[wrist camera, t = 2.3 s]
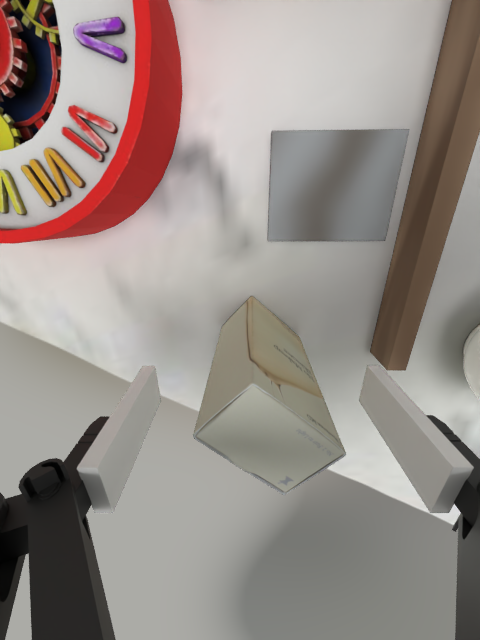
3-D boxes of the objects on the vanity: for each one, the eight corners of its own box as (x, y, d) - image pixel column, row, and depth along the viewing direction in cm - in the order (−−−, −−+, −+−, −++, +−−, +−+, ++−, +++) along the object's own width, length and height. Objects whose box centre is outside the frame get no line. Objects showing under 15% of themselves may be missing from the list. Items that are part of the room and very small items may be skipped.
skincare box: (300, 336, 22) (355, 455, 11) (266, 366, 24) (286, 500, 13) (249, 292, 21) (255, 380, 10) (216, 327, 22) (189, 440, 11)
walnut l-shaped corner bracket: (492, -52, 13) (558, -123, 10) (386, 351, 23) (405, 370, 20) (196, -45, 13) (184, -112, 11) (216, 351, 23) (212, 369, 20)
